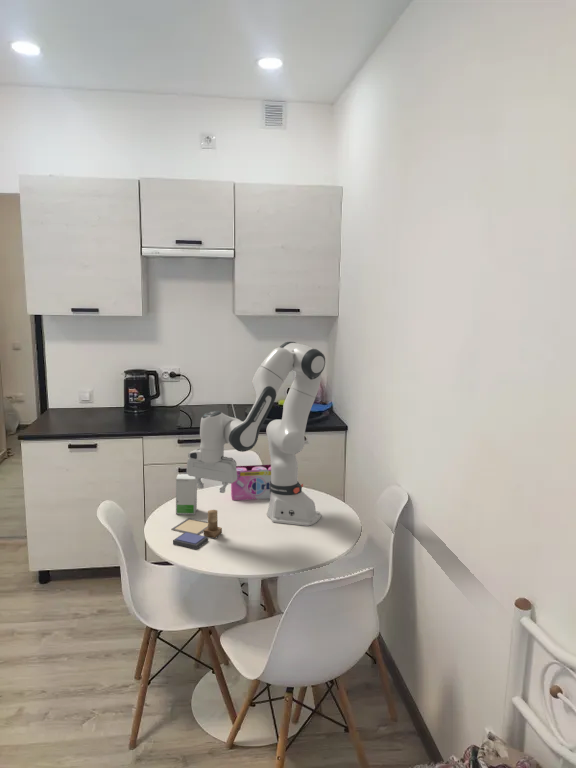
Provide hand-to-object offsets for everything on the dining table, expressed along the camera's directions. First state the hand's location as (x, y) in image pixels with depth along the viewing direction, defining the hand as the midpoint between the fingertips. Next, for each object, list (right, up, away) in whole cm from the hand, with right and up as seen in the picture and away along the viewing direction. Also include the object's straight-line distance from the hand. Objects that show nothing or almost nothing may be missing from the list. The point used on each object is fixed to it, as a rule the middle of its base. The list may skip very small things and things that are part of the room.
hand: (211, 490), depth 216 cm
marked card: (-9, -16, +10) cm, 21 cm away
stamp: (0, -18, +3) cm, 18 cm away
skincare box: (-14, -14, +26) cm, 32 cm away
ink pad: (-7, -19, -3) cm, 20 cm away
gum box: (+14, -11, +44) cm, 48 cm away
